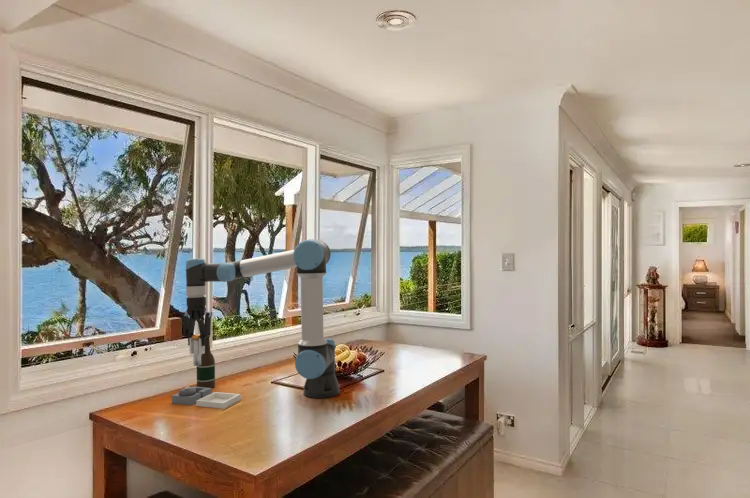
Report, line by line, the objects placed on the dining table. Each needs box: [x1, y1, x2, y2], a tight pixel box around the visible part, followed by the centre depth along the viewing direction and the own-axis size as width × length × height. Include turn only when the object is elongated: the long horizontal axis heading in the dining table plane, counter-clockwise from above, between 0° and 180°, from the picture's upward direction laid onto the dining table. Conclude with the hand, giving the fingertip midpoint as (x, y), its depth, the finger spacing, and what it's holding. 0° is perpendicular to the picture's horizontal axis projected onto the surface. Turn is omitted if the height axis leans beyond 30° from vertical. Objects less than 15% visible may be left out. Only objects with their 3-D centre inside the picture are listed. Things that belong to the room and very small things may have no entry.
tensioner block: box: [171, 386, 213, 406], centre depth 196 cm, size 13×9×7 cm
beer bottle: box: [196, 335, 216, 389], centre depth 213 cm, size 8×8×24 cm
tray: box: [195, 391, 242, 412], centre depth 191 cm, size 12×12×3 cm
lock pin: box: [192, 333, 201, 367], centre depth 199 cm, size 4×4×12 cm
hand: (197, 353), depth 199 cm, fingers closed on lock pin, 4 cm apart
